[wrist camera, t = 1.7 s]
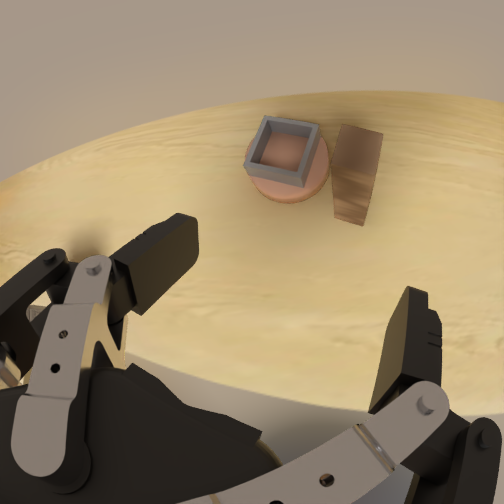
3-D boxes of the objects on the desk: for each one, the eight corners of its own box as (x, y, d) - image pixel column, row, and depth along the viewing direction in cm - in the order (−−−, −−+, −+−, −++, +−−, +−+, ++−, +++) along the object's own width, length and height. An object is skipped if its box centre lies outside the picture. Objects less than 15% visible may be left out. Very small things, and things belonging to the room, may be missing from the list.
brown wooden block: (371, 195, 33) (383, 133, 21) (363, 226, 33) (374, 175, 20) (343, 187, 34) (342, 123, 22) (334, 217, 34) (330, 163, 22)
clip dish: (337, 143, 36) (335, 118, 30) (316, 212, 35) (312, 194, 29) (266, 129, 39) (255, 105, 34) (240, 192, 38) (225, 173, 33)
